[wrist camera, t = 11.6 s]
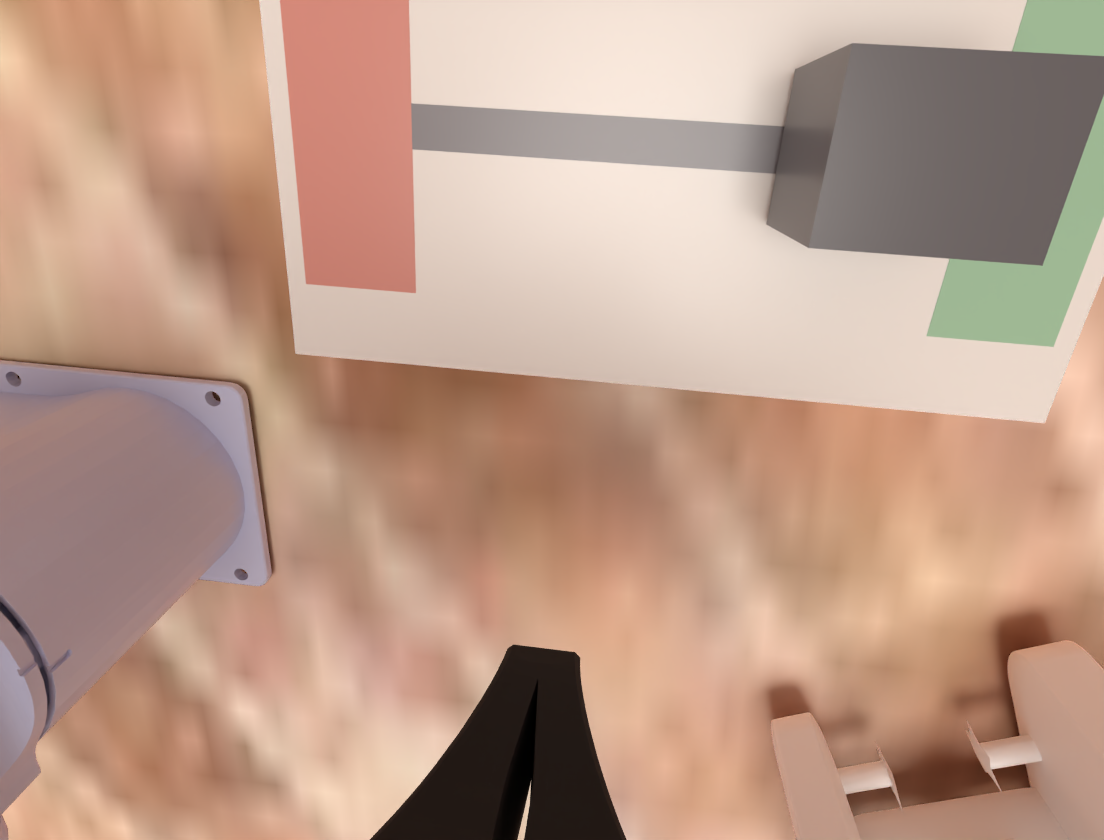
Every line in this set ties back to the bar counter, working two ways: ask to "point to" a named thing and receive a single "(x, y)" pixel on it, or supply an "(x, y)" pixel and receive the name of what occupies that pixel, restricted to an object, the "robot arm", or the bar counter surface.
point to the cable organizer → (989, 819)
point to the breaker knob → (934, 150)
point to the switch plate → (642, 201)
